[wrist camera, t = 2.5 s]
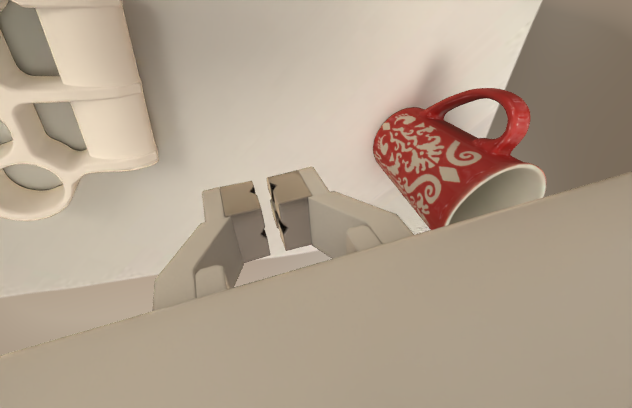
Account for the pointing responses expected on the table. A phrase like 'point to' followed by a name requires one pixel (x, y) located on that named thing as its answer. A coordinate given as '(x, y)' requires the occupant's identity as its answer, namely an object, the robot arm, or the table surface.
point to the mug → (457, 161)
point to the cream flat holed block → (74, 104)
